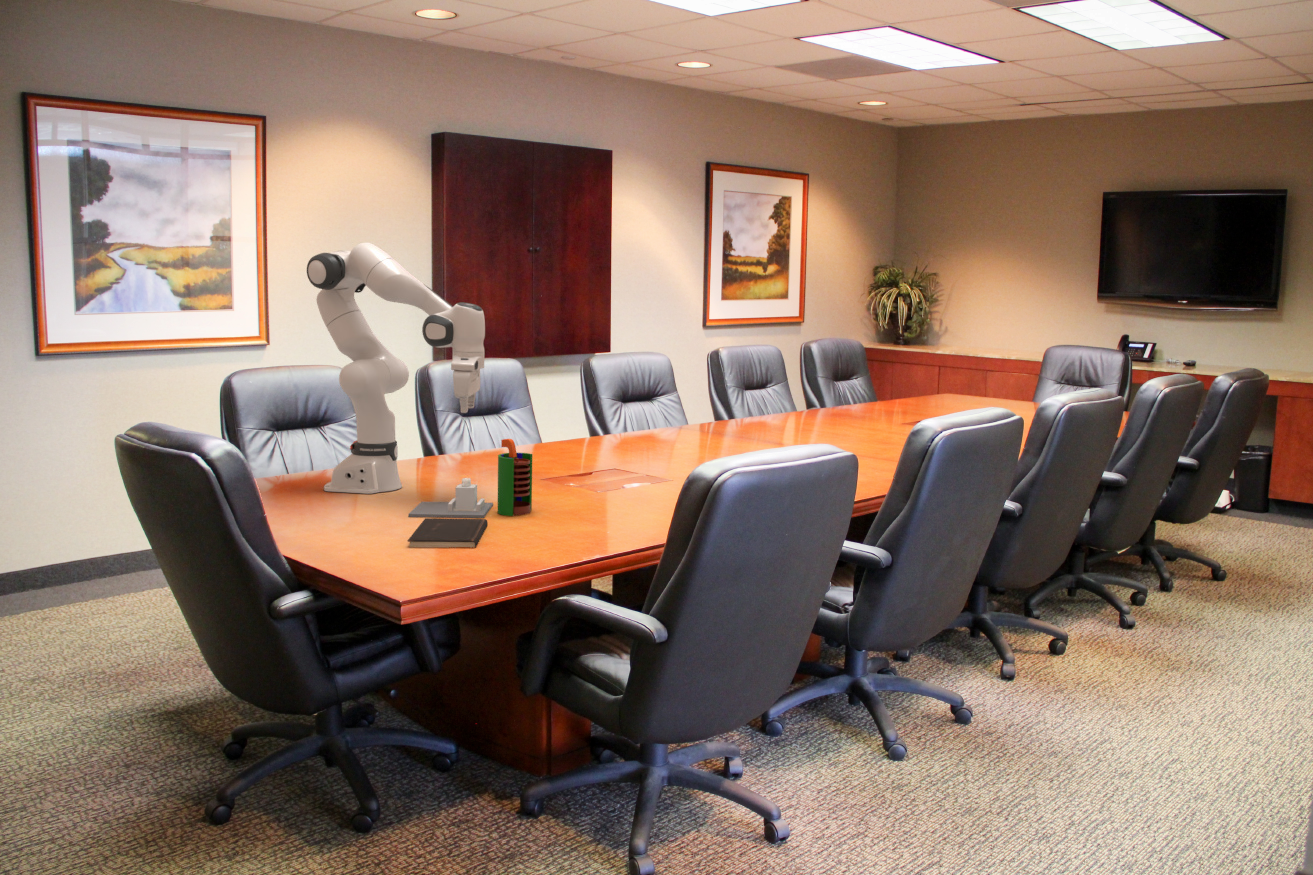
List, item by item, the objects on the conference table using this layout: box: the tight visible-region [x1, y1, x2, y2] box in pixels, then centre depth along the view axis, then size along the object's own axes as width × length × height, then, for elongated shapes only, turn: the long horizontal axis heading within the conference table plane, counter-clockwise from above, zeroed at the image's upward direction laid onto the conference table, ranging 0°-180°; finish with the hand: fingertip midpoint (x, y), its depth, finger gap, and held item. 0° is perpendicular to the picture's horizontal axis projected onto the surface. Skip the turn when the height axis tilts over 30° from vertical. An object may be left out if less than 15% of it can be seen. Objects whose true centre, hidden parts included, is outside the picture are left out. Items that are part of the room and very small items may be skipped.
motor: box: [497, 438, 533, 517], centre depth 288 cm, size 10×9×20 cm
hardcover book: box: [407, 517, 489, 549], centre depth 262 cm, size 16×23×2 cm
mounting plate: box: [408, 497, 494, 519], centre depth 289 cm, size 20×16×3 cm
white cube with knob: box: [455, 477, 478, 510], centre depth 289 cm, size 5×5×8 cm
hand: (467, 410), depth 300 cm, fingers open, 8 cm apart
